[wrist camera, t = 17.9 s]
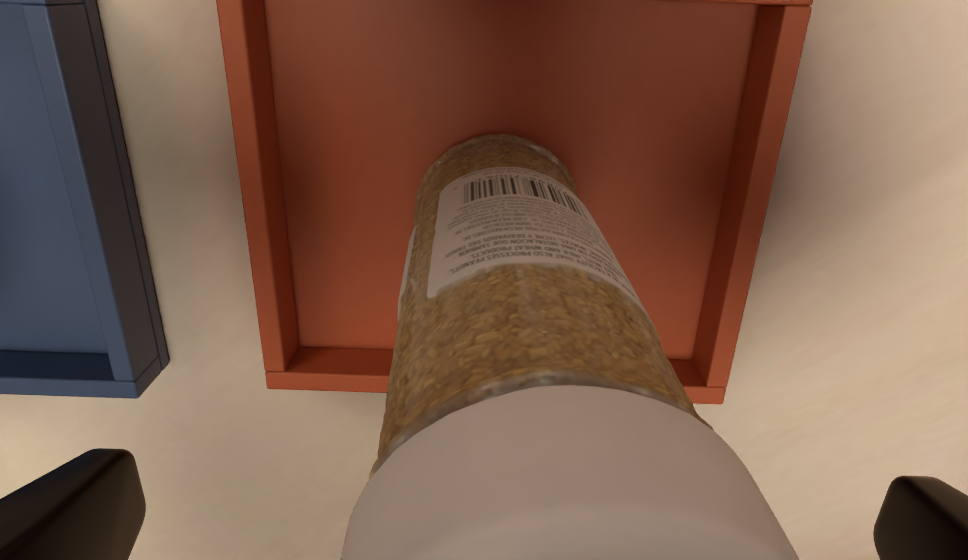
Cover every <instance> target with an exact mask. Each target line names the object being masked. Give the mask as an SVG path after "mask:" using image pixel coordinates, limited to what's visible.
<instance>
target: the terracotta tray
mask: <svg viewBox="0 0 968 560" xmlns="http://www.w3.org/2000/svg"><path fill="white" fill-rule="evenodd" d="M216 2H217V10H218V17H219V25H220V32H221V40H222V48H223V55H224V63H225V70H226V78H227V86H228V93H229V101H230V108H231V116H232V124H233V131H234V139H235V147H236V154H237V162H238V169H239V177H240V185H241V192H242V200H243V207H244V215H245V223H246V230H247V238H248V245H249V253H250V261H251V268H252V276H253V283H254V291H255V299H256V306H257V314H258V321H259V329H260V337H261V344H262V352H263V360H264V367H265V371H266V372H265V375H266V383H267V388H268V389H288V390H317V391H347V392H376V393H387V389H388V383H389V376H390V370H391V365H392V360H393V351H394V346H395V341H396V334H397V327H398V300H399V295H400V289H401V284H402V278H403V272H404V266H405V261H406V256H407V251H408V245H409V240H410V238H411V235H412V232H413V229H414V212H415V198H416V194H417V191H418V189H419V187H420V184H421V182H422V179H423V177H424V175H425V173H426V172H427V170H428V168H429V167H430V166H431V165H432V164H433V163H434V162H435V161H436V160H437V159H438V158H439V157H441V156H442V155H443V154H444V153H445V152H446V151H447V150H448V149H449V148H451V147H453V146H456V145H458V144H460V143H462V142H464V141H466V140H469V139H471V138H473V137H476V136H482V135H494V134H511V135H515V136H517V137H520V138H526V139H529V140H532V141H533V142H535V143H536V144H539V145H542V146H544V147H545V148H547V149H548V150H549V151H551V152H552V153H553V154H554V155H555V156H557V158H558V159H559V160H560V161H561V162H562V163H563V164H564V165H565V167H566V168H567V170H568V171H569V173H570V175H571V176H572V178H573V180H574V182H575V186H576V192H577V194H578V196H579V199H580V201H581V202H582V203H583V204H584V205H585V207H586V208H587V209H588V211H589V212H590V214H591V216H592V217H593V219H594V221H595V222H596V224H597V226H598V227H599V229H600V231H601V233H602V234H603V236H604V238H605V239H606V241H607V243H608V244H609V246H610V248H611V250H612V251H613V253H614V255H615V257H616V259H617V261H618V262H619V264H620V266H621V268H622V269H623V271H624V273H625V275H626V276H627V278H628V280H629V282H630V283H631V285H632V287H633V289H634V290H635V292H636V294H637V296H638V298H639V299H640V301H641V303H642V305H643V307H644V308H645V310H646V312H647V314H648V316H649V318H650V319H651V321H652V323H653V325H654V327H655V329H656V331H657V333H658V336H659V339H660V342H661V346H662V349H663V351H664V353H665V355H666V357H667V359H668V360H669V362H670V363H671V365H672V367H673V369H674V371H675V373H676V375H677V377H678V379H679V381H680V383H681V384H682V386H683V387H684V389H685V392H686V394H687V395H688V397H689V398H690V400H691V402H692V403H697V404H722V403H723V400H724V395H725V391H726V387H727V383H728V379H729V374H730V370H731V365H732V361H733V356H734V352H735V348H736V343H737V339H738V334H739V330H740V325H741V321H742V316H743V312H744V307H745V303H746V298H747V294H748V290H749V285H750V281H751V276H752V272H753V267H754V263H755V258H756V254H757V249H758V245H759V240H760V236H761V232H762V227H763V223H764V218H765V214H766V209H767V205H768V200H769V196H770V191H771V187H772V182H773V178H774V174H775V169H776V165H777V160H778V156H779V151H780V147H781V142H782V138H783V133H784V129H785V124H786V120H787V116H788V111H789V107H790V102H791V98H792V93H793V89H794V84H795V80H796V75H797V71H798V67H799V62H800V58H801V53H802V49H803V44H804V40H805V35H806V31H807V26H808V22H809V17H810V13H811V7H810V5H811V4H812V2H813V0H216Z"/></svg>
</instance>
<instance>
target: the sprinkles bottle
mask: <svg viewBox="0 0 968 560" xmlns="http://www.w3.org/2000/svg"><path fill="white" fill-rule="evenodd" d="M341 560H799V558H798V556H797V555H796V553H795V551H794V549H793V547H792V545H791V544H790V542H789V540H788V538H787V536H786V535H785V533H784V531H783V529H782V528H781V526H780V524H779V522H778V521H777V519H776V517H775V515H774V513H773V512H772V510H771V508H770V507H769V505H768V503H767V502H766V500H765V498H764V497H763V495H762V493H761V492H760V490H759V488H758V486H757V485H756V483H755V481H754V480H753V478H752V476H751V475H750V473H749V471H748V470H747V468H746V467H745V465H744V464H743V463H742V461H741V460H740V459H739V457H738V456H737V455H736V453H735V452H734V451H733V450H732V449H731V448H730V446H729V445H728V444H727V443H726V442H725V441H724V440H723V439H722V438H721V437H720V436H719V435H718V434H717V433H716V432H714V430H713V428H712V427H711V426H710V425H709V424H708V423H707V422H705V421H704V420H703V419H702V418H701V417H700V416H699V415H698V414H697V413H696V411H695V409H694V407H693V404H692V402H691V400H690V398H689V397H688V395H687V394H686V392H685V389H684V387H683V386H682V384H681V383H680V381H679V379H678V377H677V375H676V373H675V371H674V369H673V367H672V365H671V363H670V362H669V360H668V359H667V357H666V355H665V353H664V351H663V349H662V346H661V342H660V339H659V336H658V333H657V331H656V329H655V327H654V325H653V323H652V321H651V319H650V318H649V316H648V314H647V312H646V310H645V308H644V307H643V305H642V303H641V301H640V299H639V298H638V296H637V294H636V292H635V290H634V289H633V287H632V285H631V283H630V282H629V280H628V278H627V276H626V275H625V273H624V271H623V269H622V268H621V266H620V264H619V262H618V261H617V259H616V257H615V255H614V253H613V251H612V250H611V248H610V246H609V244H608V243H607V241H606V239H605V238H604V236H603V234H602V233H601V231H600V229H599V227H598V226H597V224H596V222H595V221H594V219H593V217H592V216H591V214H590V212H589V211H588V209H587V208H586V207H585V205H584V204H583V203H582V202H581V201H580V199H579V196H578V194H577V192H576V186H575V182H574V180H573V178H572V176H571V175H570V173H569V171H568V170H567V168H566V167H565V165H564V164H563V163H562V162H561V161H560V160H559V159H558V158H557V156H555V155H554V154H553V153H552V152H551V151H549V150H548V149H547V148H545V147H544V146H542V145H539V144H536V143H535V142H533V141H532V140H529V139H526V138H520V137H517V136H515V135H511V134H494V135H482V136H476V137H473V138H471V139H469V140H466V141H464V142H462V143H460V144H458V145H456V146H453V147H451V148H449V149H448V150H447V151H446V152H445V153H444V154H443V155H442V156H441V157H439V158H438V159H437V160H436V161H435V162H434V163H433V164H432V165H431V166H430V167H429V168H428V170H427V172H426V173H425V175H424V177H423V179H422V182H421V184H420V187H419V189H418V191H417V194H416V198H415V212H414V229H413V232H412V235H411V238H410V240H409V245H408V251H407V256H406V261H405V266H404V272H403V278H402V284H401V289H400V295H399V300H398V327H397V334H396V341H395V346H394V351H393V360H392V365H391V370H390V376H389V383H388V389H387V398H386V410H385V414H384V420H383V426H382V430H381V435H380V442H379V450H378V459H377V460H376V462H375V463H374V465H373V467H372V470H371V472H370V476H369V481H368V482H367V484H366V486H365V488H364V489H363V491H362V493H361V495H360V497H359V499H358V501H357V503H356V505H355V507H354V509H353V512H352V514H351V517H350V520H349V524H348V528H347V532H346V537H345V541H344V547H343V552H342V558H341Z"/></svg>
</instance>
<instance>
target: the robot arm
mask: <svg viewBox="0 0 968 560" xmlns="http://www.w3.org/2000/svg"><path fill="white" fill-rule="evenodd" d="M145 511H146V503H145V498H144V494H143V490H142V486H141V482H140V478H139V474H138V470H137V466H136V462H135V459H134V456H133V455H132V454H131V452H129V451H127V450H124V449H101V448H99V449H92V450H89V451H87V452H85V453H83V454H82V455H80V456H78V457H76V458H74V459H73V460H71V461H69V462H67V463H65V464H63V465H62V466H60V467H58V468H56V469H54V470H52V471H51V472H49V473H47V474H45V475H43V476H41V477H40V478H38V479H36V480H34V481H32V482H31V483H29V484H27V485H25V486H23V487H21V488H20V489H18V490H16V491H14V492H12V493H10V494H9V495H7V496H5V497H3V498H1V499H0V560H128V558H129V556H130V553H131V551H132V548H133V546H134V544H135V541H136V539H137V536H138V534H139V531H140V529H141V527H142V524H143V521H144V517H145ZM874 543H875V547H876V550H877V553H878V555H879V558H880V560H968V496H967V495H966V494H964V493H962V492H960V491H959V490H957V489H955V488H953V487H952V486H950V485H948V484H946V483H945V482H943V481H941V480H939V479H937V478H933V477H926V476H900V477H897V478H895V479H894V480H893V481H892V482H891V484H890V486H889V489H888V491H887V494H886V496H885V499H884V502H883V504H882V507H881V510H880V512H879V515H878V517H877V520H876V523H875V526H874Z"/></svg>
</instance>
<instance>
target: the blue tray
mask: <svg viewBox="0 0 968 560" xmlns="http://www.w3.org/2000/svg"><path fill="white" fill-rule="evenodd" d="M168 363H169V360H168V355H167V350H166V345H165V341H164V336H163V331H162V326H161V321H160V316H159V311H158V306H157V301H156V296H155V291H154V286H153V282H152V277H151V272H150V267H149V262H148V257H147V252H146V247H145V242H144V237H143V232H142V228H141V223H140V218H139V213H138V208H137V203H136V198H135V193H134V188H133V183H132V178H131V173H130V169H129V164H128V159H127V154H126V149H125V144H124V139H123V134H122V129H121V124H120V119H119V115H118V110H117V105H116V100H115V95H114V90H113V85H112V80H111V75H110V70H109V65H108V60H107V56H106V51H105V46H104V41H103V36H102V31H101V26H100V21H99V16H98V11H97V6H96V2H95V0H0V394H19V395H48V396H77V397H106V398H135V399H136V398H139V397H140V396H141V394H142V393H143V392H144V391H145V390H146V389H147V388H148V386H149V385H150V384H151V383H152V382H153V381H154V379H155V378H156V377H157V376H158V375H159V374H160V373H161V371H162V370H163V369H164V368H165V367H166V366H167V365H168Z"/></svg>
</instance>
